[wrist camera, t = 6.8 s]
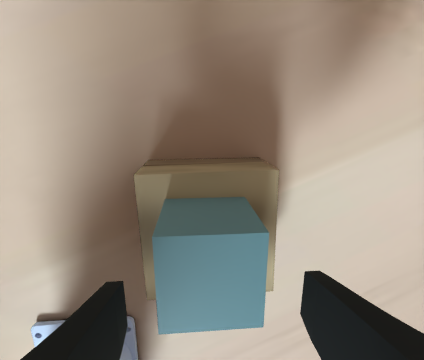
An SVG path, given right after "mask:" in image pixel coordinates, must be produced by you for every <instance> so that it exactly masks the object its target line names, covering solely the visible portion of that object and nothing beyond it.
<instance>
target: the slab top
mask: <svg viewBox="0 0 424 360" xmlns="http://www.w3.org/2000/svg"><path fill="white" fill-rule="evenodd" d="M278 179H279V169H277V168H276V167H274V166H272V165H271V164H269V163H267V162H245V163H218V164H190V165H163V166H143V167H142V168H141V169H140V170H138V171H137V172H136V173H135V174H134V184H135V193H136V202H137V212H138V221H139V230H140V239H141V249H142V258H143V267H144V277H145V286H146V295H147V300H156V288H155V273H154V259H153V244H152V236H153V233H154V230H155V227H156V224H157V221H158V218H159V215H160V212H161V209H162V206H163V203H164V200H165V199H178V198H217V197H245V198H246V199H247V201H248V202H249V204H250V205H251V207H252V208H253V210H254V211H255V213H256V214H257V215H258V217H259V218H260V220H261V221H262V223H263V224H264V226H265V227H266V229H267V230H268V232H269V245H268V261H267V277H266V292H267V291H273V284H274V263H275V242H276V221H277V200H278Z"/></svg>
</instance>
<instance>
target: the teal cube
mask: <svg viewBox="0 0 424 360" xmlns="http://www.w3.org/2000/svg"><path fill="white" fill-rule="evenodd" d="M152 244H153V259H154V273H155V288H156V303H157V317H158V332H159V334H173V333H187V332H201V331H216V330H230V329H244V328H259V327H263V324H264V308H265V292H266V277H267V261H268V245H269V232H268V230H267V229H266V227H265V226H264V224H263V223H262V221H261V220H260V218H259V217H258V215H257V214H256V213H255V211H254V210H253V208H252V207H251V205H250V204H249V202H248V201H247V199H246V198H245V197H217V198H178V199H165V200H164V203H163V206H162V209H161V212H160V215H159V218H158V221H157V224H156V227H155V230H154V233H153V236H152Z"/></svg>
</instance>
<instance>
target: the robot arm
mask: <svg viewBox="0 0 424 360" xmlns="http://www.w3.org/2000/svg"><path fill="white" fill-rule="evenodd" d="M300 314H301V317H302V319H303V322H304V324H305V327H306V329H307V332H308V334H309V336H310V339H311V341H312V343H313V345H314V347H315V348H316V350H317V352H318V354H319V356H320V358H321V359H322V360H424V334H423V333H421V332H420V331H418V330H416V329H414V328H412V327H411V326H409V325H407V324H405V323H404V322H402V321H400V320H398V319H397V318H395V317H393V316H391V315H390V314H388V313H386V312H385V311H383V310H381V309H380V308H378V307H377V306H375V305H373V304H372V303H370V302H368V301H367V300H365V299H364V298H362V297H361V296H359V295H357V294H356V293H354V292H353V291H351V290H350V289H348V288H347V287H345V286H343V285H342V284H340V283H339V282H337V281H336V280H334V279H332V278H331V277H329V276H328V275H326V274H324V273H322V272H321V271H305V275H304V284H303V294H302V303H301V312H300ZM127 327H130V328H127ZM31 332H32V337H33V341H34V345H35V348H34V349H33V350H31V351H30V352H29V353H28V354H27V355H25V356H24V357H23V358H22V359H20V360H138V351H137V341H136V331H135V321H134V319H133V318H132V317H130V316H127V313H126V304H125V295H124V285H123V281H116V282H106V283H105V284H104V285H103V286H102V287H101V288H100V289H99V290H98V291H97V292H96V293H94V294H93V295H92V296H91V297H90V298H89V299H88V300H87V301H86V302H85V303H84V304H83V305H82V306H81V307H80V308H79V309H78V310H77V311H76V312H74V313H73V314H72V315H71V316H70V317H69V318H68V319H67V320H60V321H44V322H36V323H35V324H34V325H33V326H32V328H31Z"/></svg>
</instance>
